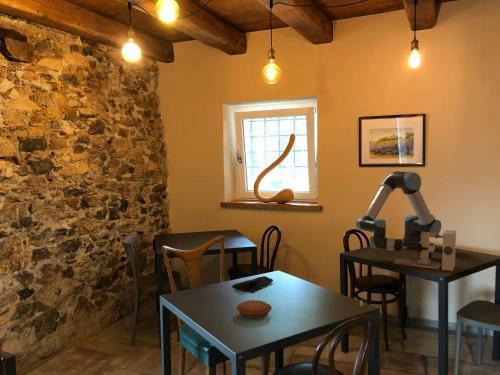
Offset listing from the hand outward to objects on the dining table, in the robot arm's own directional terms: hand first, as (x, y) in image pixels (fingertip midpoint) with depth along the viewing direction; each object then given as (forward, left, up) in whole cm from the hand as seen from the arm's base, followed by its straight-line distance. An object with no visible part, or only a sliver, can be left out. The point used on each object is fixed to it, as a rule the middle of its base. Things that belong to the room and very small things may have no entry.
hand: (434, 248), depth 268 cm
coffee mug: (-20, -9, -11) cm, 25 cm away
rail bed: (0, -10, -11) cm, 15 cm away
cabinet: (0, +8, -11) cm, 14 cm away
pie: (+122, -59, -11) cm, 136 cm away
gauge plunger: (0, +6, +7) cm, 9 cm away
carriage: (0, -4, -10) cm, 10 cm away
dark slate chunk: (+86, -79, -12) cm, 117 cm away
